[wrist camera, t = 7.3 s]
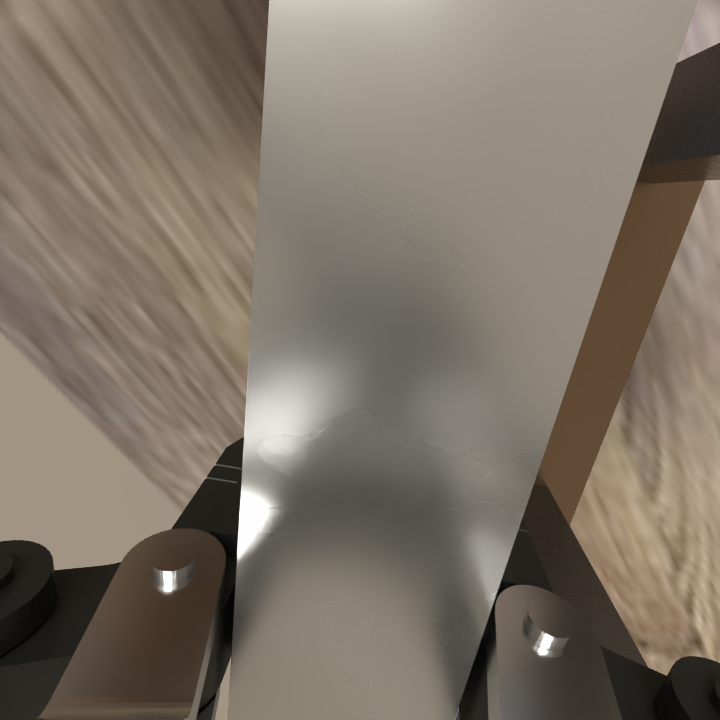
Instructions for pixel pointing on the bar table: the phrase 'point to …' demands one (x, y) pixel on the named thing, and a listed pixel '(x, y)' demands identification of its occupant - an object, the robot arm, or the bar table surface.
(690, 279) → the bar table surface
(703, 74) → the cradle stand
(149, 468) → the bar table surface
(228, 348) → the bar table surface
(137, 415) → the bar table surface
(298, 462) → the steel rail
